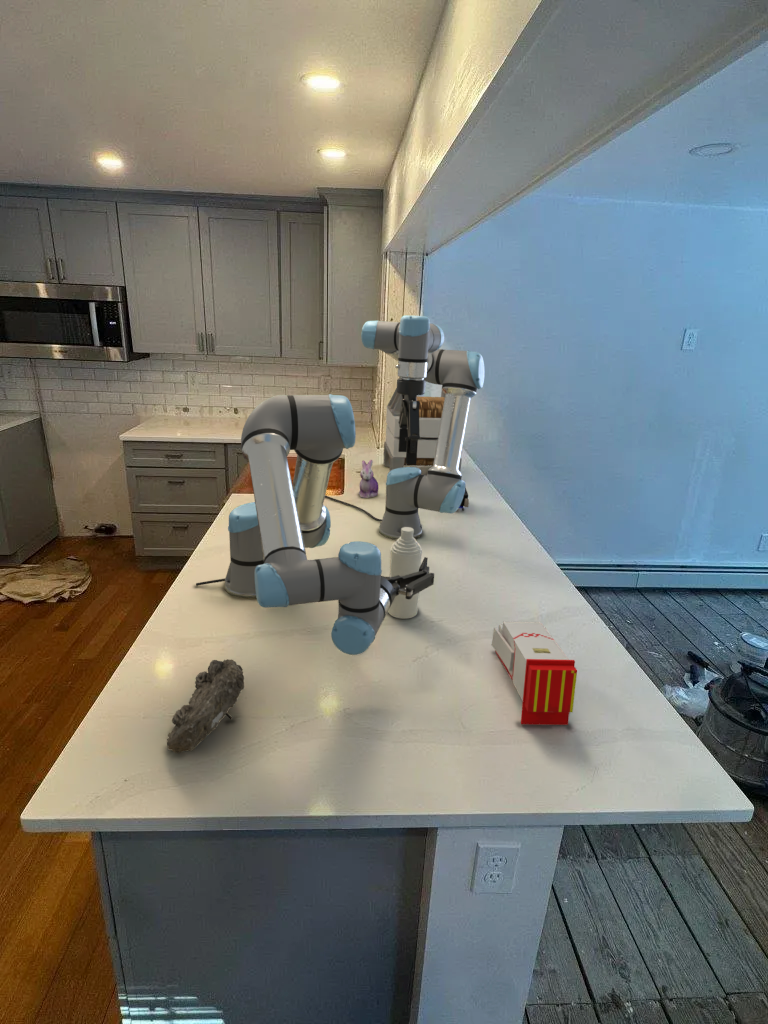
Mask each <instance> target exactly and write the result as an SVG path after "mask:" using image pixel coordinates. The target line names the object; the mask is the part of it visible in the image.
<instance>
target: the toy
mask: <svg viewBox="0 0 768 1024" xmlns="http://www.w3.org/2000/svg"><path fill="white" fill-rule="evenodd" d="M491 646H492V647H493V649H494V652H495V654H496V656H497V657H498V659H499V661H500V662H501V664H502V666H503V668H504V669H505V671H506V672H507V675H508V676H509V678H510V679H511V681H512V684H513V685H514V687H515V689H516V691H517V693H518V695H519V697H520V699H521V702H522V703H521V715H520V725H537V726H538V725H539V726H541V725H543V726H568V725H569V719H570V713H573V712H574V703H575V694H576V685H577V678H578V677H577V676H578V669H577V668H576V667H575V664H576V660H575V659H569V657H568V656H567V655H566V653H565V651H563V650H562V648H561V647H560V646H559V644H558V643H557V642H556V640H555V639H554V637H553V636H552V635H551V633H550V632H549V631H548V629H547V628H546V627H545V625H544V624H543V622H541V621H502V623H499V624H498V628H497V627H493V630H492V640H491Z"/></svg>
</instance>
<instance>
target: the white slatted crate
mask: <svg viewBox="0 0 768 1024" xmlns="http://www.w3.org/2000/svg"><path fill="white" fill-rule="evenodd" d="M440 393H441V394H440V396H419V395H417V401H419V402H420V404H419V428H420V439H419V440H418V445H417V461H416V465H406V452H398V449H399V431H400V429H401V428H400V427H399V423H398V422H399V417H400V409H401V402H402V394H399V393H397V387H396V388H395V390H394V392H393V394H392V395H391V398H390V400H389V402H388V404H387V405H386V413H385V414H386V415H385V423H386V428H385V438H384V442H383V466H384V467H388V468H389V472H390V471H391V470H393V469H397V468H403V467H405V466H406V467H417V466H418V467H432V466H433V464H434V458H435V452H436V446H437V440H438V434H439V428H440V422H441V417H442V411H443V405H444V399H445V394H444V392H443V391H442V390H441V392H440ZM407 429H408V428H407ZM462 453H463V450H462V451H461V454H462ZM462 461H463V460H462V456H461V457H460V463H459V468H458V469H459V471H460V473H461V472H462ZM461 474H462V473H461Z"/></svg>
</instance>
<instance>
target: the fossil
mask: <svg viewBox="0 0 768 1024" xmlns="http://www.w3.org/2000/svg"><path fill="white" fill-rule="evenodd" d="M243 670H244V669H243V667H242V665H240V664H237V662H236V661H235V660H234V659H232V658H231V659H227V658H226V659H224V660H223V661H222V660H217V659H212V660H211V661H210V663H209V665H208V666H207V671H201V672H199V673H198V674H197V675H196V676H195V680H194V684H195V685H194V687H195V689H194V690H193V693H192V694H191V697H190V698H189V700H188V704H184V705H182V706H181V707H180V709H177V710H176V711H175V713H174V715H173V716H172V718H171V723H172V724H173V727H172V730H171V731H170V732H168V734H167V738H166V741H167V742H166V745H167V749H168V750H169V751H173V752H174V753H176V754H178V753H182V752H188V751H189V752H192V751H193V750H195V748H196V747H197V746H199V744H200V743H201V742H203V741H204V740H205V739H206V738H207V737H208V736H209V735H210V734H211V733H212V732H214V730H215V729H217V727H218V726H219V724H220V722H221V721H222V720H223V719H224V718H225V716H226V717H227V719H229V720H233V717H232V715H230V714H229V710H230V709H231V708H234V706H235V704H236V703H237V702H238V699H239V697H240V695H241V693H242V691H243V690H245V689H244V688H245V675H244V671H243Z"/></svg>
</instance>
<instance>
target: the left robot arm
mask: <svg viewBox="0 0 768 1024" xmlns="http://www.w3.org/2000/svg"><path fill="white" fill-rule="evenodd" d="M356 435H357V434H356V420H355V414H354V410H353V406H352V403H351V401H350V399H349V398H348V397H347V396H345V395H342V394H341V395H339V394H332V393H329V394H292V395H291V394H288V395H287V394H278V395H274V396H271V397H268V398H266V399H265V400H263V401H262V402H260V403H259V404H258V405H257V406H256V407H255V408H253V410H252V411H251V413H250V414H249V415H248V417H247V419H246V421H245V423H244V426H243V428H242V432H241V437H240V446H241V454H242V457H243V458H244V460H245V461H246V462H247V463H248V464H249V472H250V478H251V484H252V490H253V491H252V492H253V499H254V501H253V502H252V501H251V502H247V503H244V504H241V505H238V506H237V507H234V508H233V509H232V510H231V511H230V512H229V515H228V526H227V530H228V533H229V534H228V536H229V556H230V558H229V561H230V562H229V565H228V568H227V572H226V575H225V578H219V579H218V578H217V579H212V580H207V581H199V582H196V583H195V586H196V587H197V586H203V585H209V584H215V583H221V582H224V589H225V592H227V593H228V594H230V595H232V596H233V597H236V598H243V599H256V601H257V604H258V605H259V606H260V607H261V608H264V609H269V608H270V609H271V608H288V607H289V606H290V607H291V606H298V605H304V604H313V603H321V602H322V603H323V602H331V601H338V602H337V603H338V608H337V609H338V614H337V619H336V620H335V621H334V623H333V626H332V628H331V631H330V637H331V641H332V643H333V645H334V646H335V648H336V649H338V650H339V651H340V652H341V653H344V654H346V655H349V656H358V655H361V654H364V653H365V652H366V651H367V650H368V649H369V648H370V646H371V645H372V643H373V642H374V641H375V639H376V636H377V634H378V632H379V630H380V628H381V626H382V623H383V622H384V620H385V618H386V616H387V614H388V610H389V608H390V607H391V605H392V603H393V601H394V599H395V597H396V596H397V595H399V594H402V595H405V596H406V597H405V598H406V599H411V598H412V597H413V595H415V594H417V593H419V594H420V593H421V592H423V591H424V590H426V589H428V588H429V587H431V586H433V585H435V584H434V582H435V573H434V572H430V566H428V559H429V558H428V557H427V556H424V557H423V560H422V561H421V566H420V568H419V572H415V573H412V574H408V575H405V576H399V575H397V576H394V577H389V576H384V575H382V574H383V573H382V572H383V570H382V554H381V553H382V552H381V550H380V549H379V547H378V546H377V545H375V544H373V543H371V542H368V541H361V540H360V541H359V540H355V541H350V542H348V543H344V544H342V545H341V546H340V548H339V551H338V555H337V556H335V557H326V558H325V557H324V558H315V559H308V558H307V557H308V556H307V552H306V549H314V548H316V547H322V546H325V544H327V542H328V540H329V539H330V535H331V527H332V526H331V524H332V523H331V522H332V520H331V514H330V510H329V509H328V507H327V506H326V505H324V502H325V498H326V497H325V495H326V494H327V489H328V485H329V481H330V478H331V474H332V473H331V472H332V469H333V464H334V463H335V462H336V461H338V460H339V458H340V457H341V456H342V454H343V451H344V449H346V450H349V449H351V448H353V447H355V444H356V439H357V438H356ZM290 451H294V452H295V454H296V460H295V461H296V462H295V466H294V467H295V468H294V473H293V480H292V476H291V470H290V466H289V461H288V456H289V454H290ZM396 581H397V582H396Z"/></svg>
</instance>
